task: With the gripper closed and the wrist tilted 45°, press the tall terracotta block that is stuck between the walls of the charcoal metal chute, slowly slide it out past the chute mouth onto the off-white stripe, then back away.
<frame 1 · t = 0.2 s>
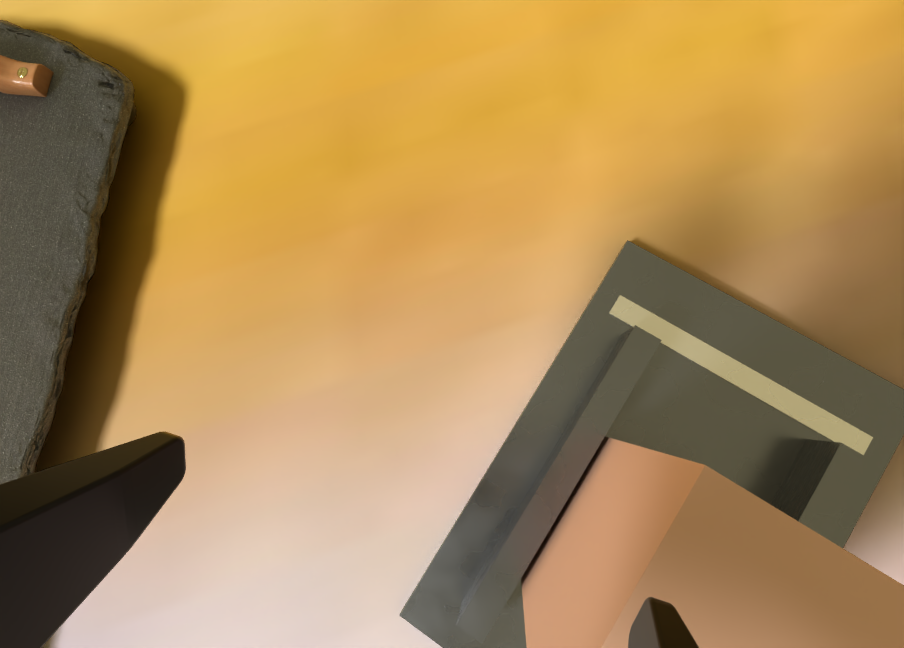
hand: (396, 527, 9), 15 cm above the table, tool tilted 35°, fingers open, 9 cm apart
jammed block: (681, 604, 16), point 7 cm above the table, slide at 0.0 cm
chute: (652, 506, 23), on the table
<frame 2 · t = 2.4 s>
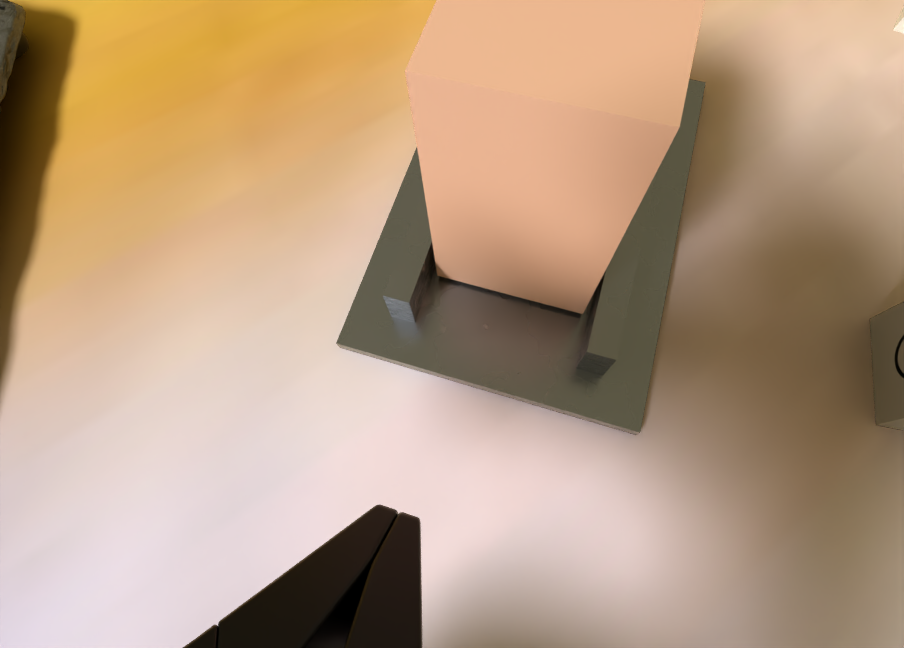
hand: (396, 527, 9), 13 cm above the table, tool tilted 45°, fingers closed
jammed block: (542, 149, 20), point 7 cm above the table, slide at 0.0 cm
chute: (535, 208, 27), on the table
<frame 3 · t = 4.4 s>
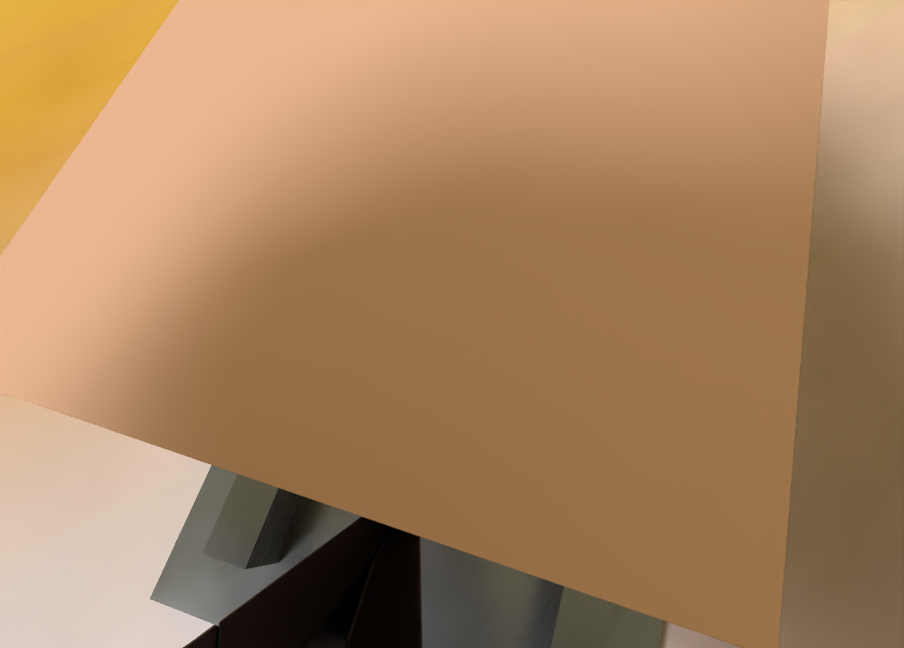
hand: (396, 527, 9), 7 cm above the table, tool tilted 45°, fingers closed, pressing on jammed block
jammed block: (456, 340, 11), point 7 cm above the table, slide at 0.0 cm, touching gripper
chute: (480, 354, 18), on the table
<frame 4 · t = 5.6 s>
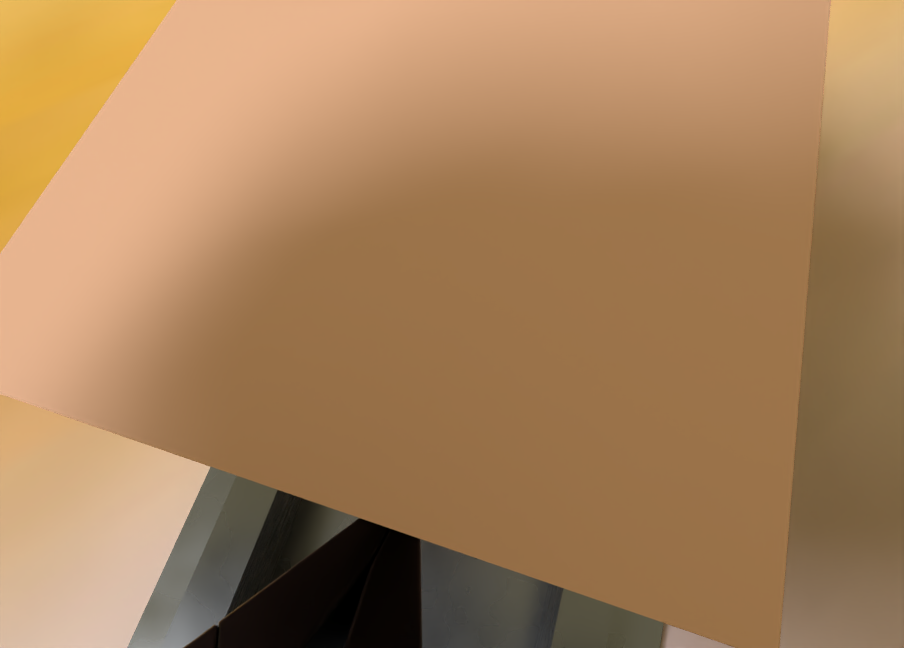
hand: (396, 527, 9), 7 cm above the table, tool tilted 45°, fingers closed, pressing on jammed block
jammed block: (456, 340, 11), point 7 cm above the table, slide at 6.9 cm, touching gripper
chute: (416, 563, 15), on the table
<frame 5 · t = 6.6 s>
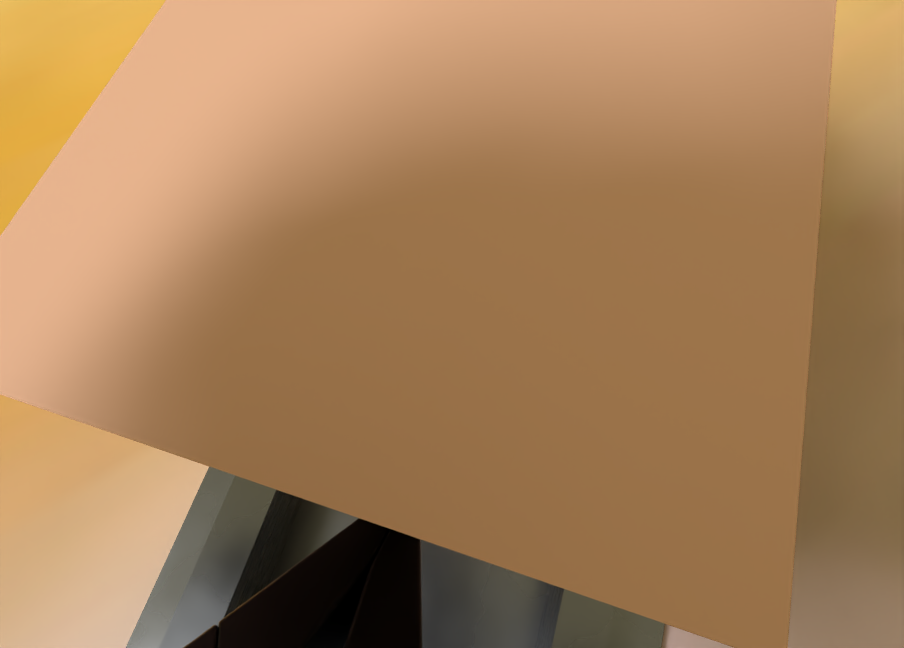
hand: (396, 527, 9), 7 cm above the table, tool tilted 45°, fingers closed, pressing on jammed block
jammed block: (457, 337, 11), point 7 cm above the table, slide at 10.2 cm, touching gripper
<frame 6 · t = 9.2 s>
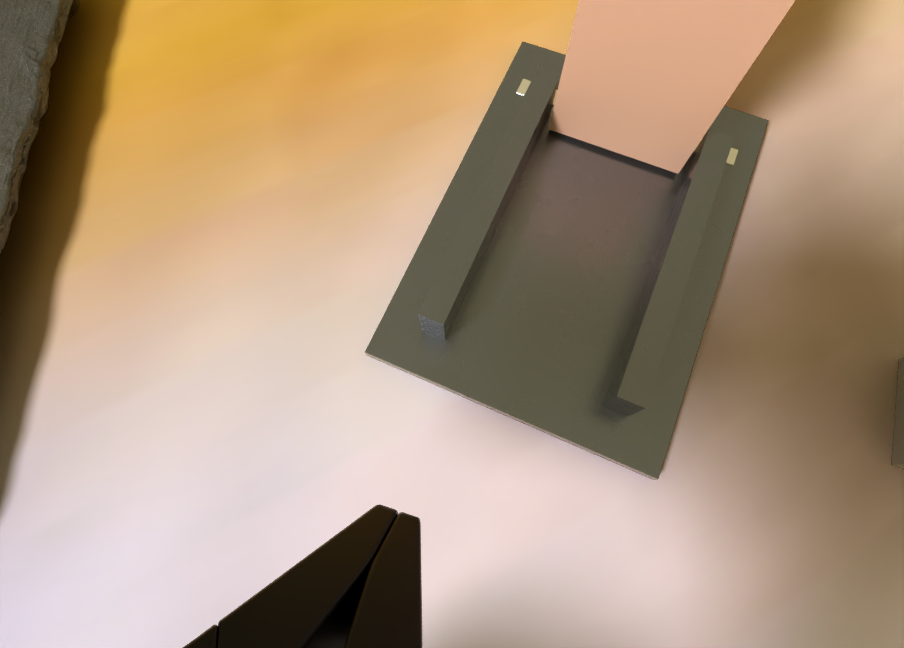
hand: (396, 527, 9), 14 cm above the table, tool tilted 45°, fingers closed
chute: (577, 234, 26), on the table
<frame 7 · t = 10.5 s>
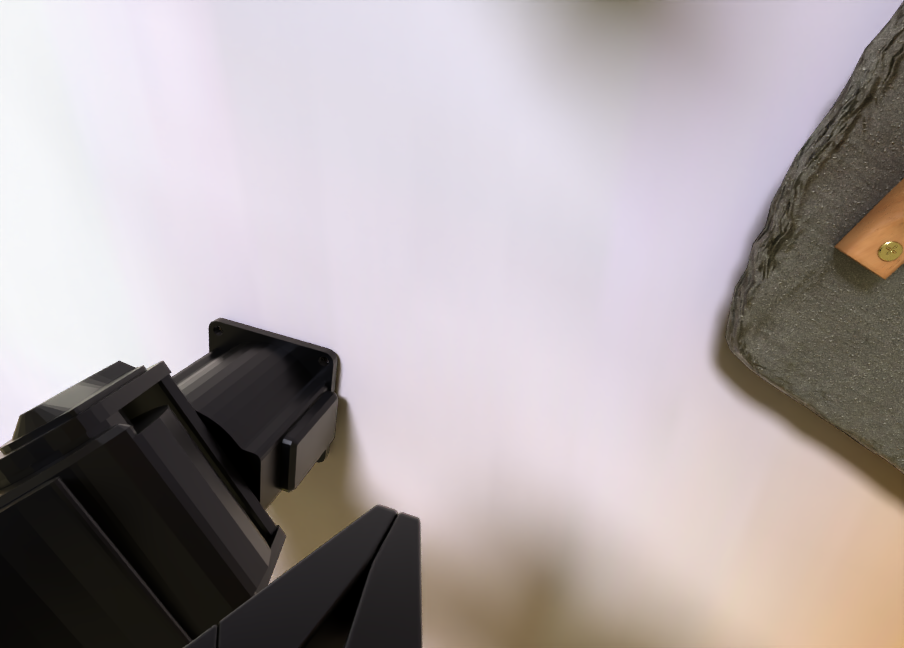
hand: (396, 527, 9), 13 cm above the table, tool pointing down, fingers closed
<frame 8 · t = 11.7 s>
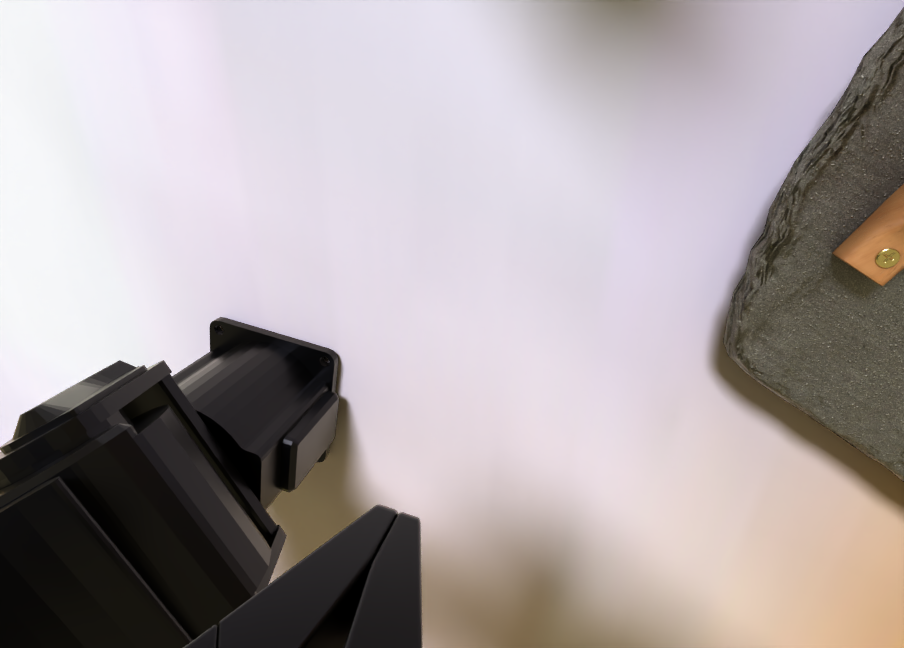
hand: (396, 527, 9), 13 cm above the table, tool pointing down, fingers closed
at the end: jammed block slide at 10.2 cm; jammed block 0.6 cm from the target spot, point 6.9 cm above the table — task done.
